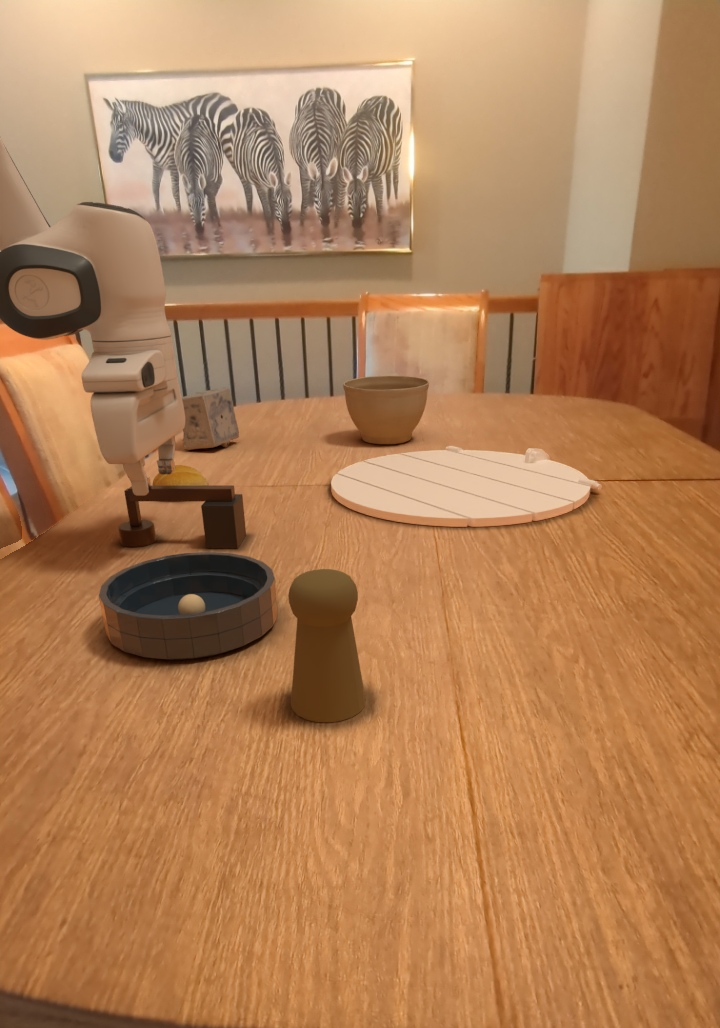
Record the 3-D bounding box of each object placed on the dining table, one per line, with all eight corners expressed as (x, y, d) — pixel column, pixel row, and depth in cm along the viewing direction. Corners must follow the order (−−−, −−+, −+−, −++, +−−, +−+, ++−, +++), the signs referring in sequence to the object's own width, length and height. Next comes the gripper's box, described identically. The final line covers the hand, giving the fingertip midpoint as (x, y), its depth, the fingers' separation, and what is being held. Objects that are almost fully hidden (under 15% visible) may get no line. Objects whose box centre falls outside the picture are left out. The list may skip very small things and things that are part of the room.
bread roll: (159, 504, 111) (155, 478, 109) (151, 489, 119) (147, 464, 117) (214, 497, 114) (211, 471, 112) (204, 483, 121) (201, 458, 120)
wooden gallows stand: (116, 547, 95) (106, 492, 92) (128, 535, 99) (119, 482, 96) (234, 547, 94) (228, 492, 91) (242, 536, 98) (236, 482, 95)
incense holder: (204, 440, 151) (198, 385, 146) (241, 442, 148) (236, 387, 143) (177, 450, 143) (169, 393, 138) (215, 453, 140) (208, 395, 135)
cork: (276, 700, 61) (265, 574, 56) (334, 675, 65) (329, 554, 60) (321, 731, 57) (314, 598, 52) (381, 703, 60) (379, 575, 55)
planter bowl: (328, 440, 147) (325, 382, 143) (387, 428, 157) (387, 373, 152) (385, 453, 137) (384, 391, 132) (445, 439, 146) (446, 380, 141)
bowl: (79, 662, 68) (69, 617, 66) (141, 590, 82) (135, 551, 80) (259, 666, 66) (254, 620, 64) (289, 591, 81) (286, 552, 79)
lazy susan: (466, 445, 141) (467, 426, 140) (648, 488, 113) (652, 466, 111) (283, 483, 120) (282, 461, 119) (449, 547, 92) (450, 520, 90)
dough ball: (176, 625, 73) (173, 600, 72) (184, 613, 75) (180, 589, 74) (202, 625, 73) (199, 600, 72) (209, 614, 75) (206, 590, 74)
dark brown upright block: (206, 548, 94) (200, 505, 91) (216, 535, 98) (211, 494, 96) (237, 548, 94) (233, 505, 91) (246, 535, 98) (242, 494, 95)
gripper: (140, 354, 96) (157, 462, 103) (73, 378, 78) (99, 507, 84) (188, 353, 96) (203, 462, 102) (132, 376, 78) (154, 507, 84)
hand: (155, 483), depth 93 cm, fingers open, 8 cm apart
